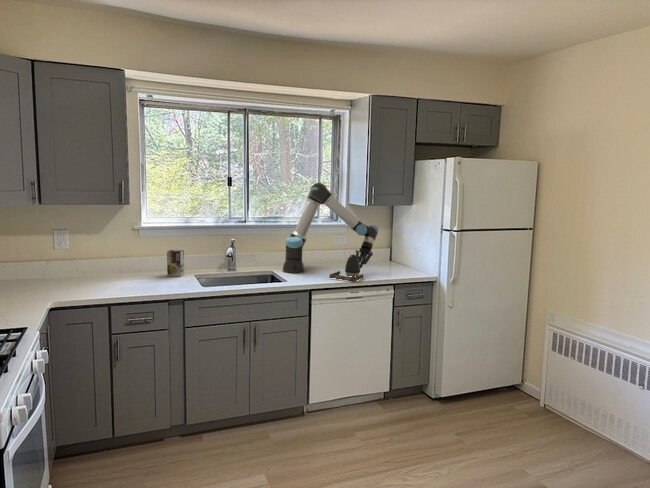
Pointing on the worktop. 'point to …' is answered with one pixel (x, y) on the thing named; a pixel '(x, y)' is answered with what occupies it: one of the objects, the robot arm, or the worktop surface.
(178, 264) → the coffee box
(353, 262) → the dark grey tapered dome
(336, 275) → the walnut bay
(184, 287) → the worktop surface
